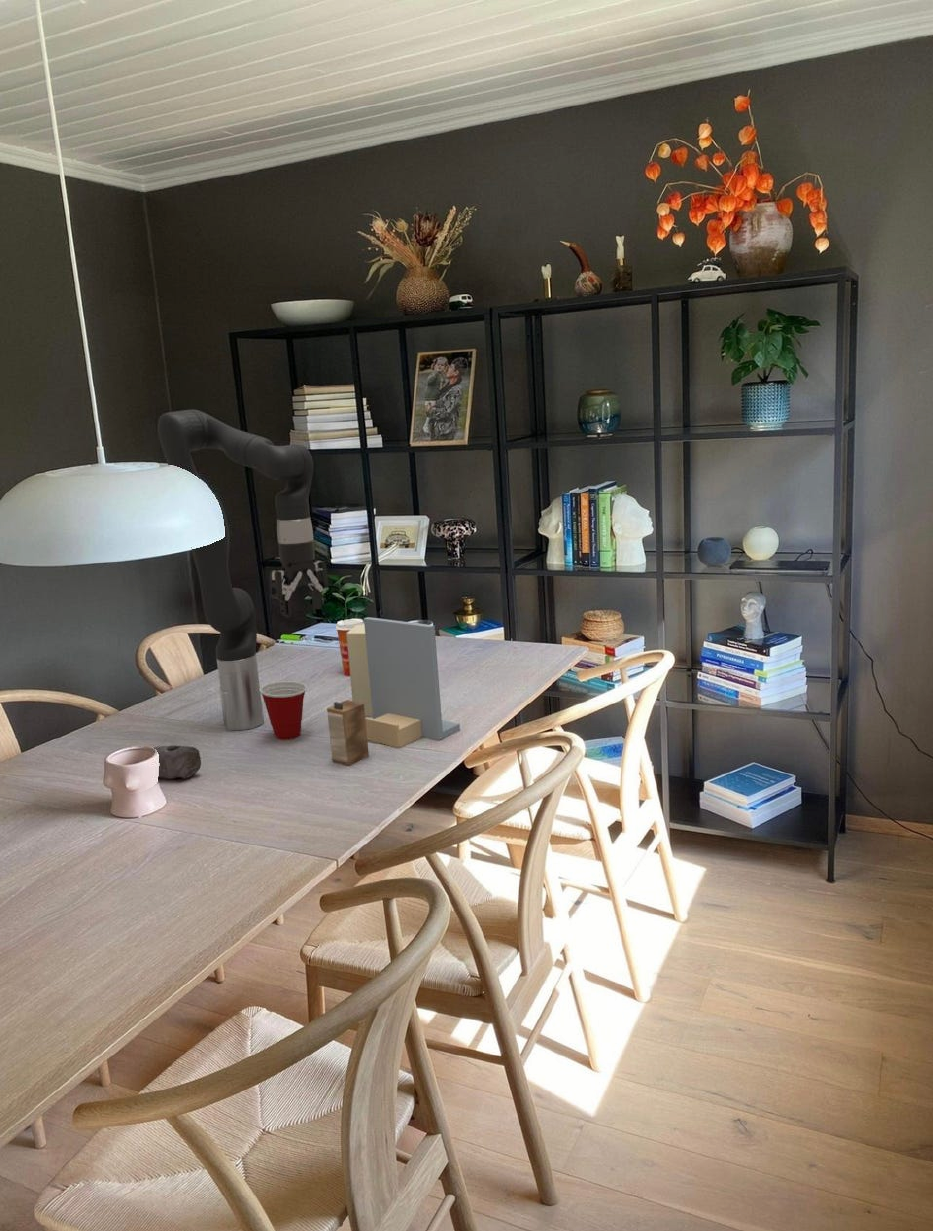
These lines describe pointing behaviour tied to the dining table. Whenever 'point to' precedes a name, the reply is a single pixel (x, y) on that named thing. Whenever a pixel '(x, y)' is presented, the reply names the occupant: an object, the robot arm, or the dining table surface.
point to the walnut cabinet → (348, 732)
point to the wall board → (403, 683)
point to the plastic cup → (284, 707)
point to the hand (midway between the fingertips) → (302, 612)
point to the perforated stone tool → (178, 761)
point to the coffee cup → (342, 630)
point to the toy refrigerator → (359, 668)
